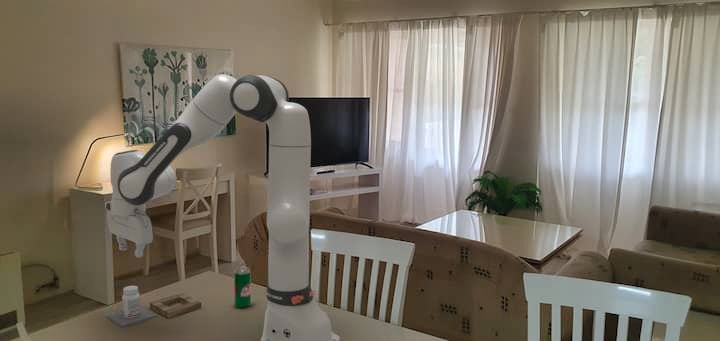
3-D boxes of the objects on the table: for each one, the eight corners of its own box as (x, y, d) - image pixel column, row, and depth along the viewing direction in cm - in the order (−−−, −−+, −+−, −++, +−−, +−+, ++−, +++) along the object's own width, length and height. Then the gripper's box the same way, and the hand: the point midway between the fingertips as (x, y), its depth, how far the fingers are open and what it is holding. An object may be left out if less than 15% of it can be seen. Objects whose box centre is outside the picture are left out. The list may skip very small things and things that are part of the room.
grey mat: (156, 317, 161) (155, 315, 161) (122, 327, 153) (122, 325, 153) (139, 307, 167) (139, 305, 167) (106, 317, 160) (106, 315, 160)
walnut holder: (201, 307, 168) (201, 302, 168) (168, 318, 160) (168, 312, 160) (182, 298, 175) (182, 293, 175) (149, 308, 167) (149, 302, 167)
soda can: (243, 310, 167) (242, 272, 165) (231, 306, 170) (230, 269, 168) (254, 304, 171) (254, 268, 170) (242, 301, 174) (242, 265, 172)
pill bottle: (143, 312, 162) (142, 285, 161) (134, 319, 157) (133, 291, 156) (129, 311, 163) (127, 284, 162) (119, 317, 158) (118, 290, 157)
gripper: (157, 210, 151) (159, 258, 153) (123, 199, 165) (125, 244, 167) (135, 214, 147) (138, 263, 149) (102, 202, 160) (104, 248, 162)
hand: (131, 253), depth 158 cm, fingers open, 8 cm apart
